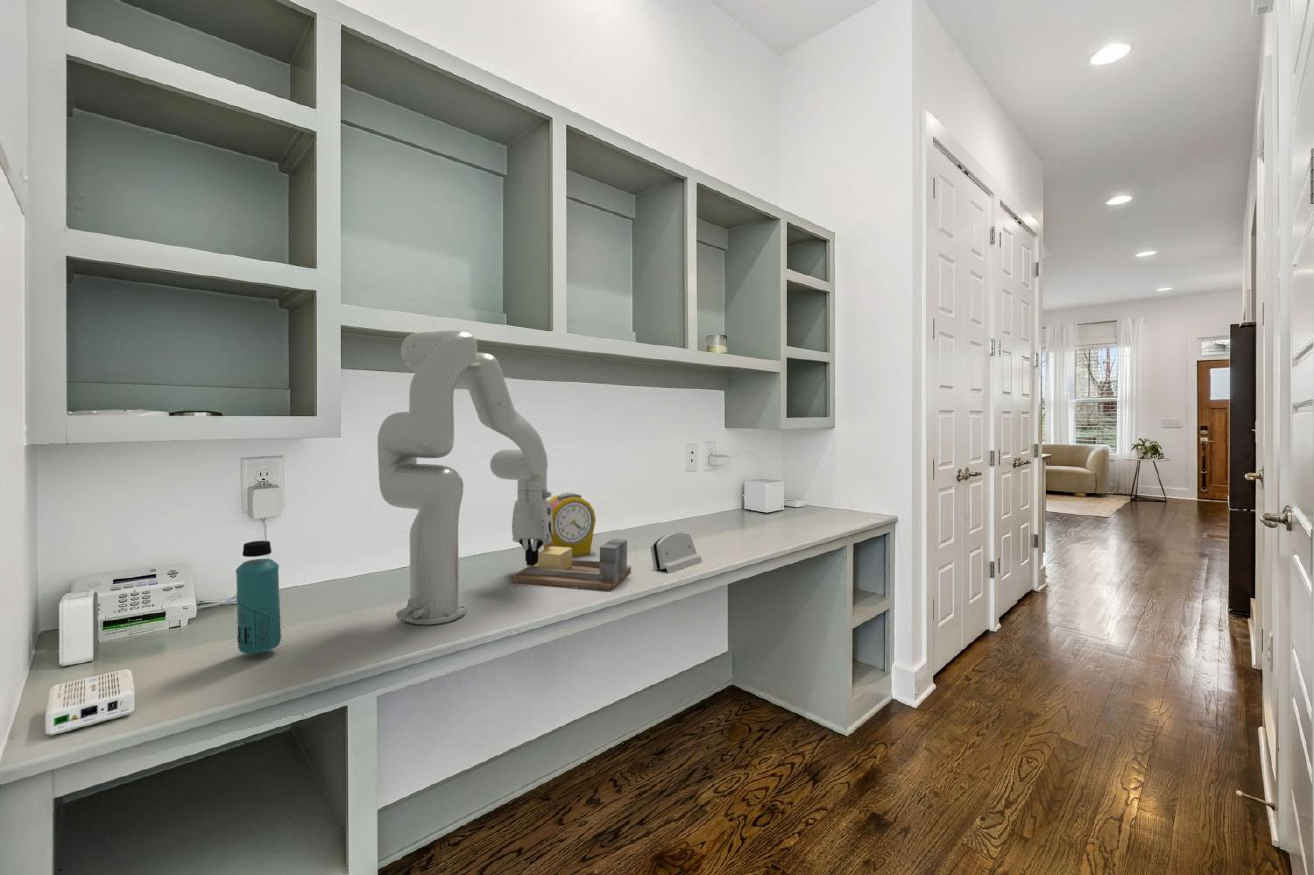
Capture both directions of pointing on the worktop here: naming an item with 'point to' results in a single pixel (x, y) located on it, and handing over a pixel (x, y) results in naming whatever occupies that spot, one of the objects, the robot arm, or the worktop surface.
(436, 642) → the worktop surface
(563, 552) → the block
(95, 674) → the worktop surface
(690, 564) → the hinge
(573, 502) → the alarm clock
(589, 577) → the base
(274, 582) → the beverage bottle
